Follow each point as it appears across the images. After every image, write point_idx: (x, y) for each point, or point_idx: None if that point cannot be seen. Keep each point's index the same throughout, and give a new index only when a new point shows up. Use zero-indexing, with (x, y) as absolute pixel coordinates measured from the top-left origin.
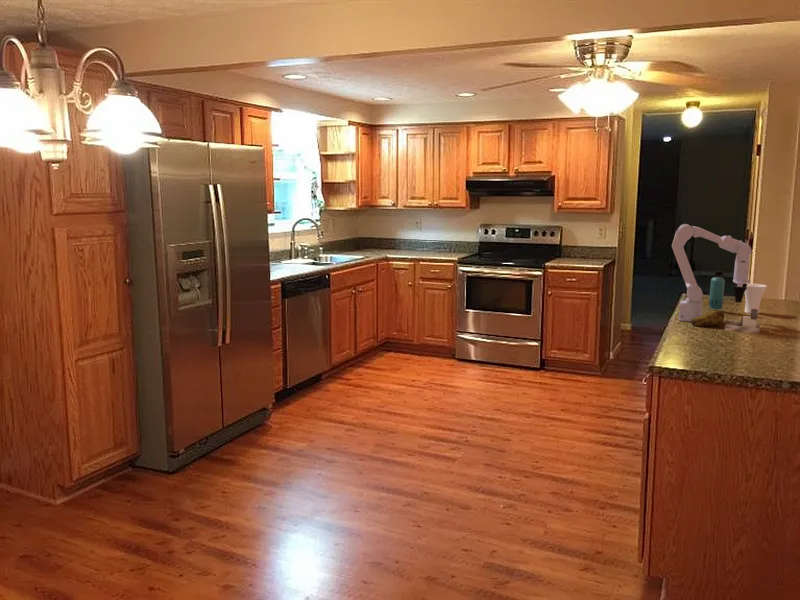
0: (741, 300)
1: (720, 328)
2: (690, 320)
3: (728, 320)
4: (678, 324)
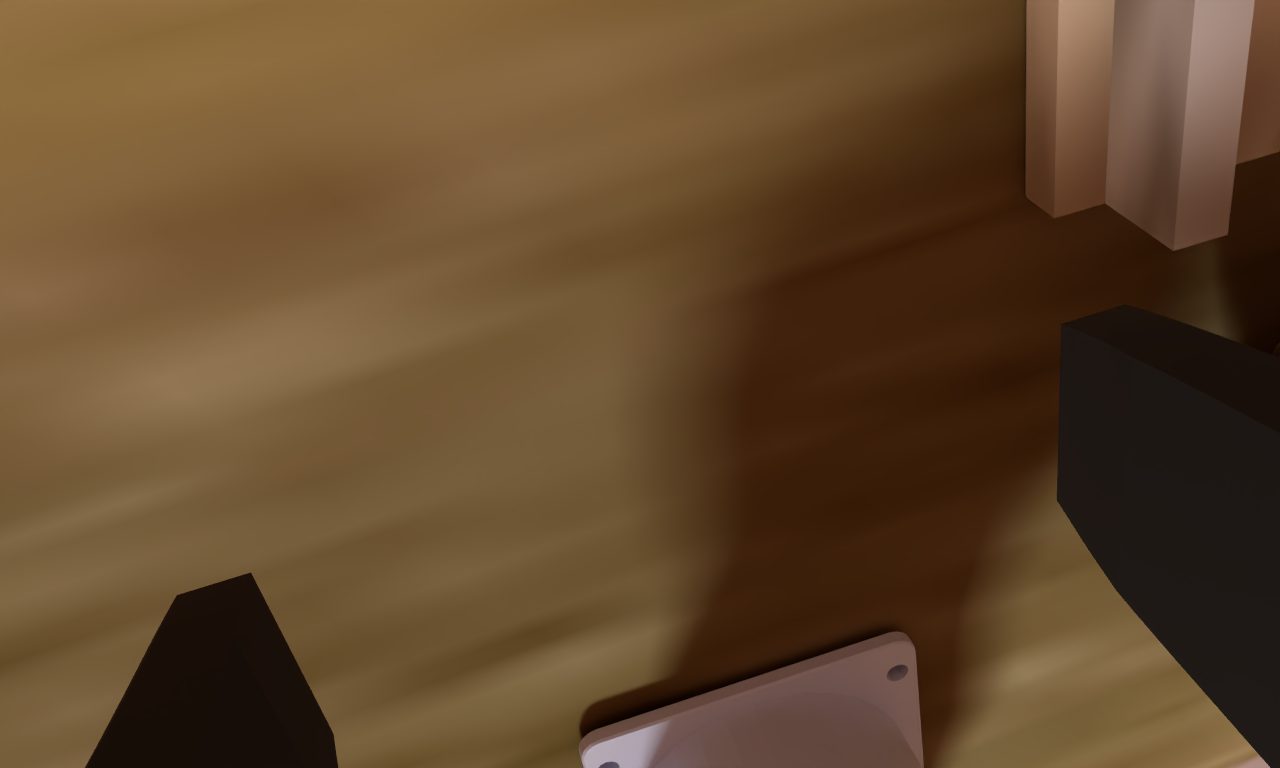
0: (1200, 335)
1: (1272, 203)
2: (919, 762)
3: (1185, 198)
4: (1204, 738)
